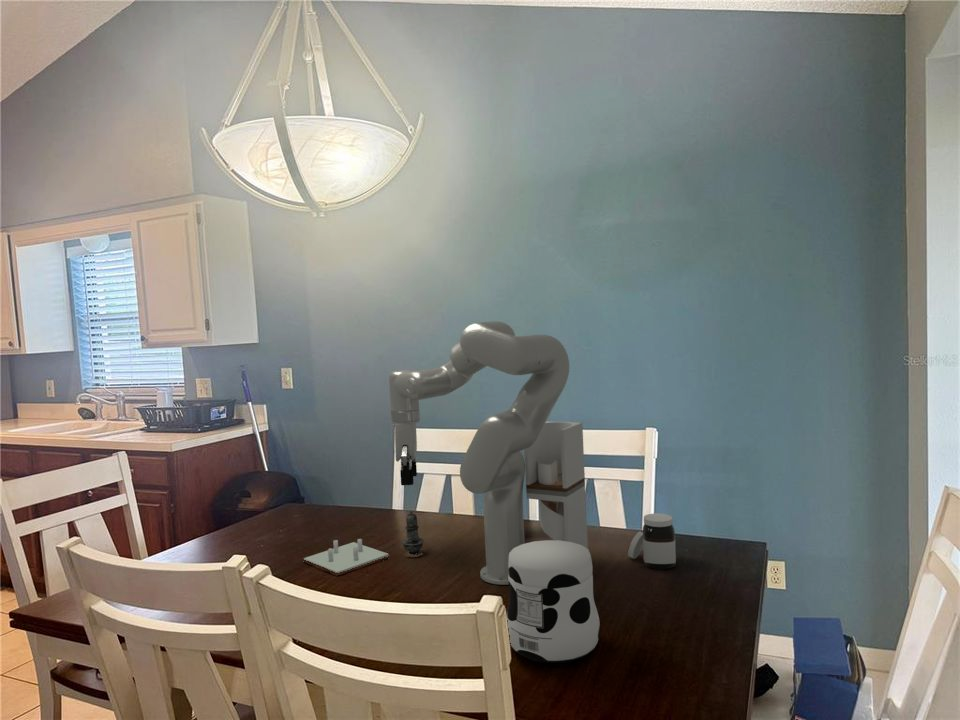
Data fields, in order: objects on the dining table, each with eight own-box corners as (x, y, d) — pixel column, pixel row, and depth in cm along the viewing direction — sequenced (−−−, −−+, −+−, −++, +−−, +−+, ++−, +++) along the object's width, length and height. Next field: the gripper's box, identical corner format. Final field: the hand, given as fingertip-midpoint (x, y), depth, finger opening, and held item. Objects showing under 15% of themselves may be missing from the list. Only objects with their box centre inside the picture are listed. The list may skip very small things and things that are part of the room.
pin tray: (389, 558, 178) (388, 542, 178) (337, 576, 167) (336, 559, 166) (353, 546, 189) (353, 530, 189) (303, 562, 178) (302, 546, 178)
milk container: (590, 624, 134) (586, 535, 133) (610, 668, 117) (606, 567, 116) (504, 630, 134) (499, 541, 133) (511, 675, 116) (505, 573, 115)
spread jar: (677, 572, 159) (676, 523, 158) (628, 571, 161) (626, 523, 160) (673, 554, 170) (672, 509, 170) (628, 553, 173) (626, 509, 172)
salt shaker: (413, 549, 184) (411, 506, 184) (429, 553, 181) (426, 509, 180) (398, 555, 180) (395, 511, 179) (413, 559, 176) (411, 514, 175)
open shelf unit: (549, 554, 175) (543, 421, 173) (588, 560, 169) (582, 422, 167) (530, 569, 165) (523, 428, 163) (570, 576, 159) (563, 430, 157)
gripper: (395, 413, 187) (398, 473, 188) (387, 422, 170) (391, 489, 171) (422, 411, 187) (425, 472, 188) (416, 420, 170) (420, 487, 171)
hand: (409, 480), depth 179 cm, fingers open, 9 cm apart
